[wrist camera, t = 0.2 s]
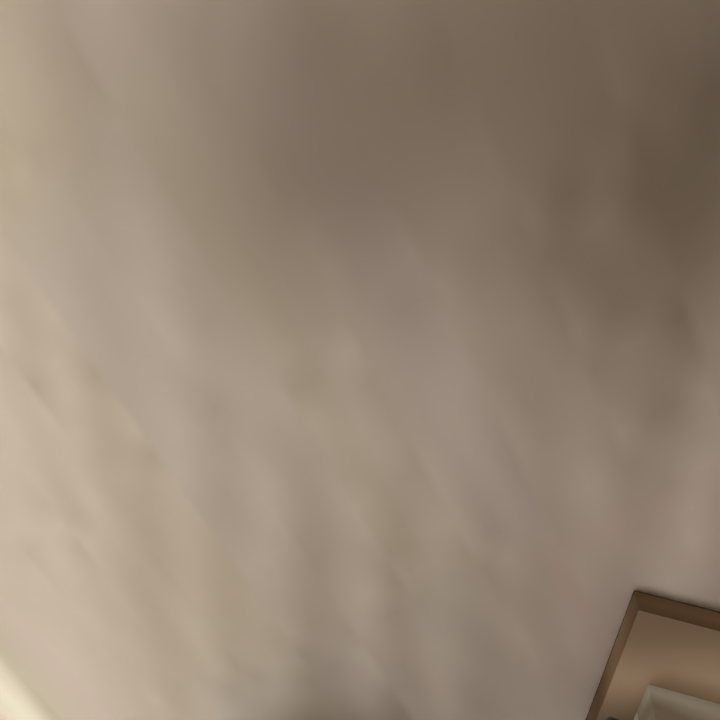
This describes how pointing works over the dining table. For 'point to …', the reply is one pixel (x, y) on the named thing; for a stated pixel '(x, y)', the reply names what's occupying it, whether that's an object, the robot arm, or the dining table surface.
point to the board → (662, 664)
